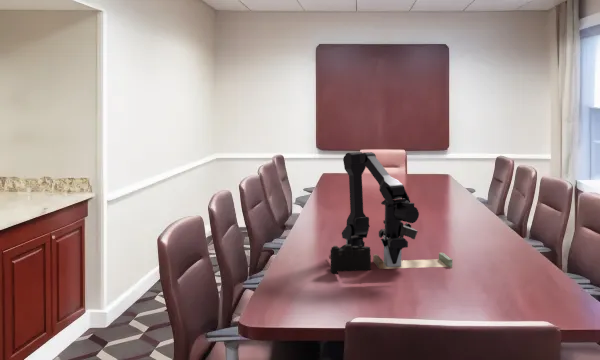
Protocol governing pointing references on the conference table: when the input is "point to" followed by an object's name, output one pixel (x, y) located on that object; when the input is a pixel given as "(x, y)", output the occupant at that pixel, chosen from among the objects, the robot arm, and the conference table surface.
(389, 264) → the block
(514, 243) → the conference table surface
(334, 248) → the camera
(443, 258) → the track
